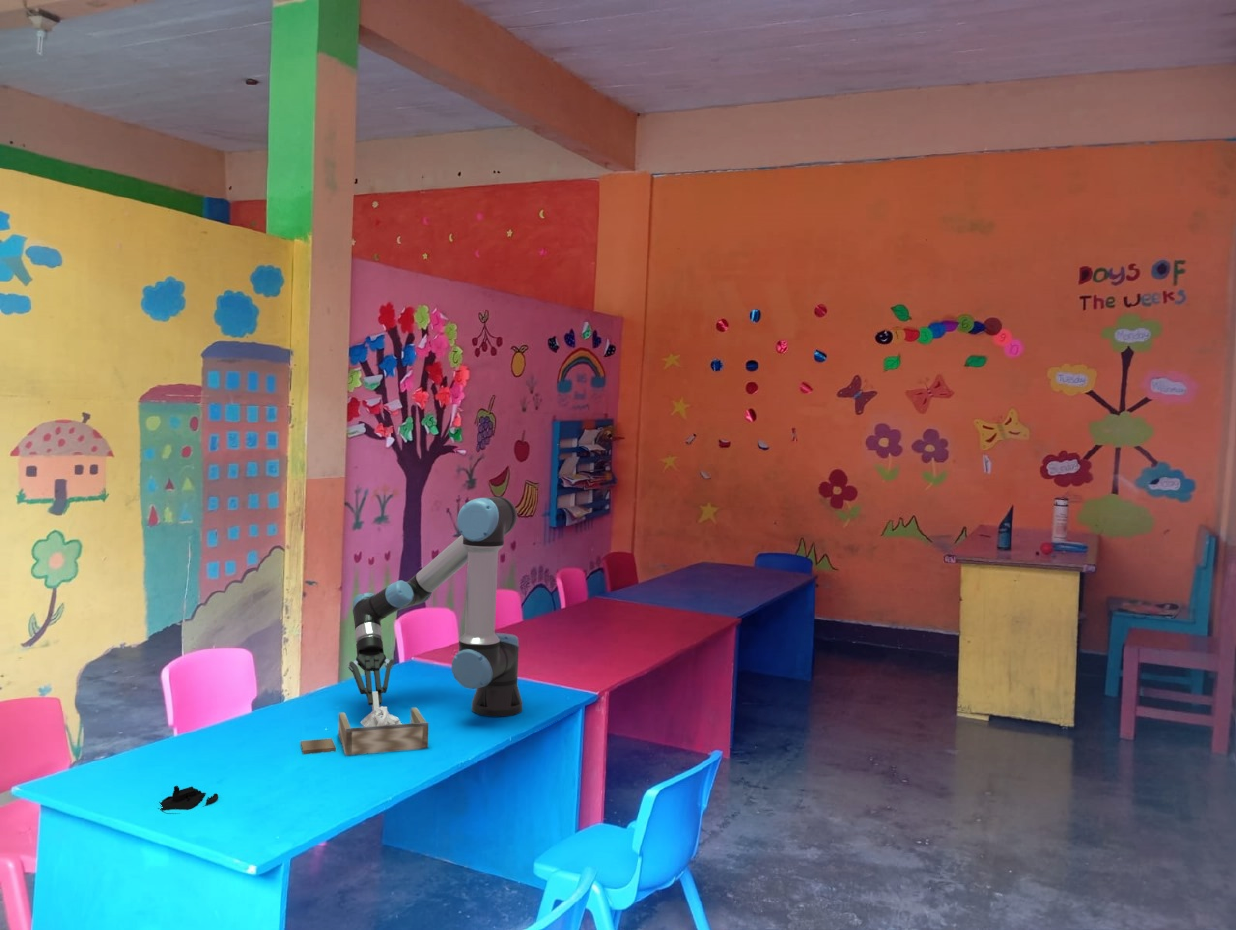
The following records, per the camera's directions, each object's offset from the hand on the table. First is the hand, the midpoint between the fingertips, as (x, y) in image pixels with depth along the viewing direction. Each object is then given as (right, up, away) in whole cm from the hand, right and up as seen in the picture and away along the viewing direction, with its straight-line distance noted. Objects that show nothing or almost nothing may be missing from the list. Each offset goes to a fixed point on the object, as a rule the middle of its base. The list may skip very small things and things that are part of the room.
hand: (376, 714), depth 275 cm
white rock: (+4, -5, -9) cm, 11 cm away
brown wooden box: (+4, -5, -10) cm, 12 cm away
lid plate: (-11, -5, -17) cm, 21 cm away
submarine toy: (-28, -6, -57) cm, 64 cm away
